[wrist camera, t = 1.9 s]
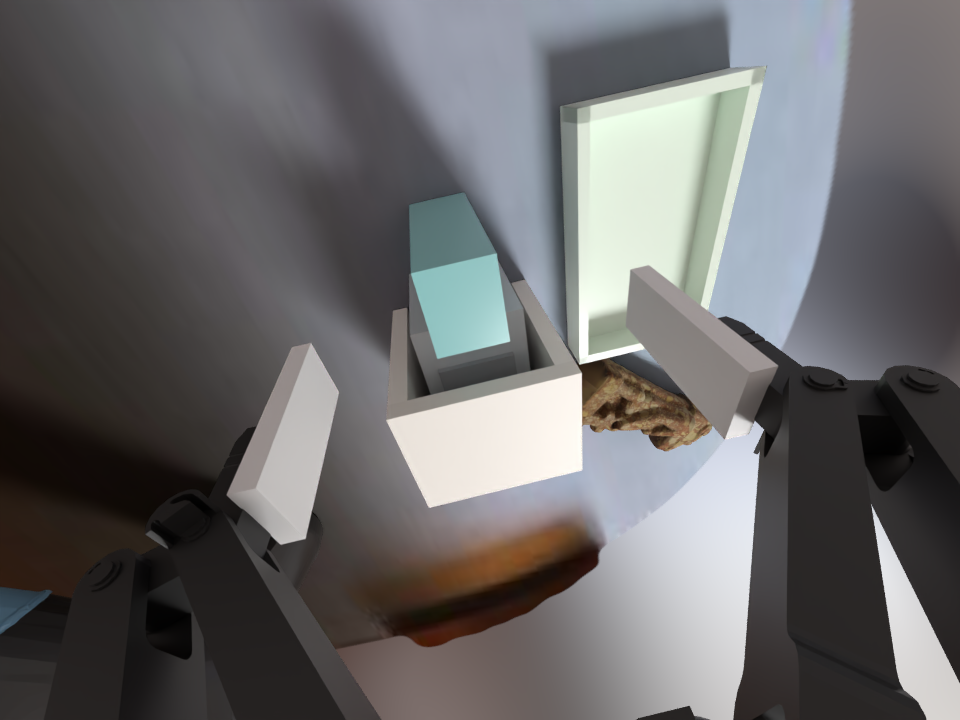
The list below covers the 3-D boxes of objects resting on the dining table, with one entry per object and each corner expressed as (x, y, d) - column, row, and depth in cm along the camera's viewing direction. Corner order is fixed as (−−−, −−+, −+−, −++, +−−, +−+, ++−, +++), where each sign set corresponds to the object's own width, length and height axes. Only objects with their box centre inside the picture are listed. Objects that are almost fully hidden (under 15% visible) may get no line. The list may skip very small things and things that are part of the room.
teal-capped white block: (439, 369, 35) (451, 474, 26) (388, 209, 26) (378, 281, 17) (510, 352, 35) (548, 450, 26) (484, 187, 26) (528, 245, 17)
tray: (567, 345, 36) (579, 364, 34) (560, 106, 24) (577, 108, 22) (682, 318, 36) (701, 335, 34) (730, 67, 24) (766, 65, 22)
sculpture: (590, 343, 37) (613, 374, 33) (702, 399, 45) (732, 430, 41) (542, 399, 40) (557, 434, 36) (654, 442, 48) (677, 475, 44)
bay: (422, 391, 37) (429, 507, 27) (392, 310, 31) (386, 420, 21) (534, 364, 37) (582, 470, 27) (525, 279, 31) (581, 372, 21)
